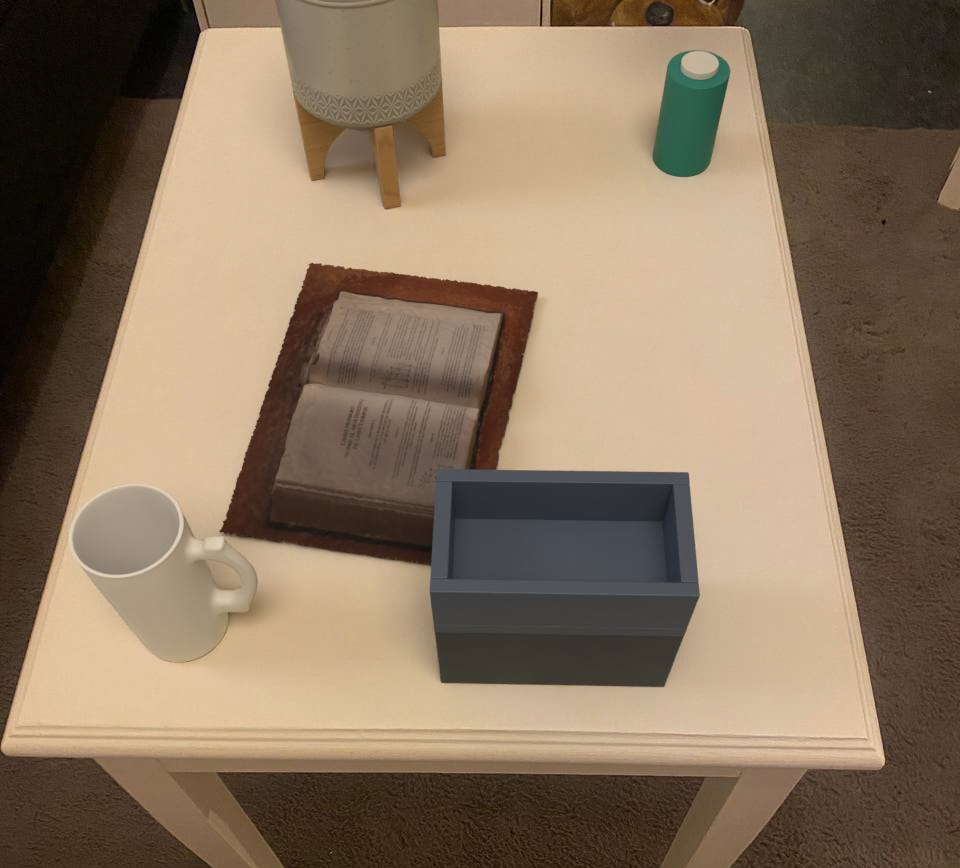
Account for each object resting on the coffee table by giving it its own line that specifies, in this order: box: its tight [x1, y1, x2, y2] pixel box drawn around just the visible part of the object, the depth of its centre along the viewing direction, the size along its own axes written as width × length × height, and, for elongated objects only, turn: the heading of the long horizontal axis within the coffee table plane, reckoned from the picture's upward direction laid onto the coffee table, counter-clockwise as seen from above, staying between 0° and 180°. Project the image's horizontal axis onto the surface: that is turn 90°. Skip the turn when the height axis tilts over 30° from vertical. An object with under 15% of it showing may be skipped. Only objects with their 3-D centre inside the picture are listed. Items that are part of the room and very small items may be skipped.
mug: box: [67, 482, 259, 663], centre depth 61 cm, size 10×7×12 cm, turn 87°
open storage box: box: [429, 469, 701, 688], centre depth 60 cm, size 15×9×12 cm, turn 88°
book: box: [218, 262, 539, 566], centre depth 74 cm, size 20×28×4 cm
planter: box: [274, 0, 447, 210], centre depth 81 cm, size 13×13×18 cm
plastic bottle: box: [652, 49, 731, 178], centre depth 84 cm, size 5×5×9 cm
